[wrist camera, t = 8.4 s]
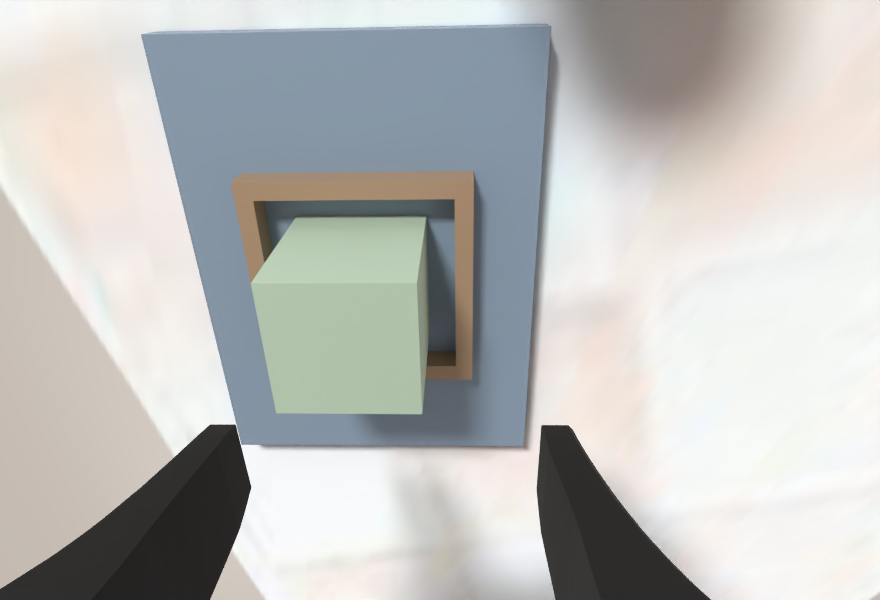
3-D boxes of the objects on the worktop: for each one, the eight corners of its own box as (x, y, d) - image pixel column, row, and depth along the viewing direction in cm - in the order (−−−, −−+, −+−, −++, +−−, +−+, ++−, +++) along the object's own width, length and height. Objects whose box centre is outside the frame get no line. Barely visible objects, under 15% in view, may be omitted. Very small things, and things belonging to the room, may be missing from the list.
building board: (521, 430, 25) (525, 463, 24) (249, 428, 26) (233, 461, 24) (546, 24, 18) (555, 29, 16) (156, 31, 18) (123, 37, 16)
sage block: (429, 326, 22) (422, 414, 17) (312, 326, 22) (276, 413, 18) (426, 215, 20) (416, 283, 15) (296, 215, 20) (250, 283, 15)
